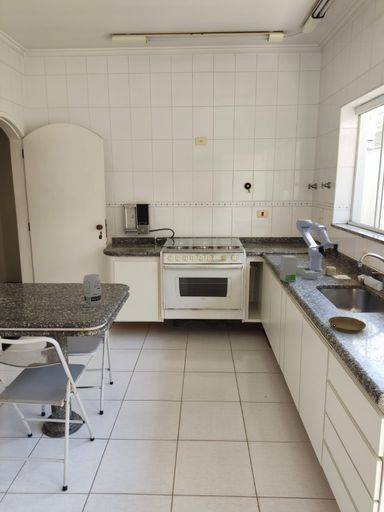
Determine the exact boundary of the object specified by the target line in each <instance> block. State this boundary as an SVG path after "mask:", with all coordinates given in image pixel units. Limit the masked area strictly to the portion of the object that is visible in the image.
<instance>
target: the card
mask: <svg viewBox="0 0 384 512" xmlns="http://www.w3.org/2000/svg"><path fill="white" fill-rule="evenodd" d="M331 277H333V279H335V280H349V281H350V280H352V278H351V277H349V276H348V275H346V274H336V275H332V276H331Z"/></svg>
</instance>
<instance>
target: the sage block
mask: <svg viewBox="0 0 384 512" xmlns="http://www.w3.org/2000/svg"><path fill="white" fill-rule="evenodd" d="M303 270H304V271H306V267H305V266H304V265H297V268H296V275H301V276H303Z"/></svg>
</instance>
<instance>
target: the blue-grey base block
mask: <svg viewBox="0 0 384 512" xmlns="http://www.w3.org/2000/svg"><path fill="white" fill-rule="evenodd" d="M302 277H303V278H304V279H307V280H312V279H313V280H317V279H318V272H317V271H311V270H305V271H304V270H303V275H302Z"/></svg>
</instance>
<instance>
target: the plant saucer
mask: <svg viewBox="0 0 384 512" xmlns="http://www.w3.org/2000/svg"><path fill="white" fill-rule="evenodd" d="M327 321H328V323H329V325H330V326H331V327H332V328H333V329H335V330H336V331H338V332H342V333H347V334H357V333H360V332H362V331H363V330H364V329H365V328H366V327H367V324H366V323H365V322H364V321H362V320H361V319H358V318H354V317H350V316H341V315H340V316H332V317H329V319H328V320H327ZM334 325H335V326H334Z"/></svg>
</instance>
